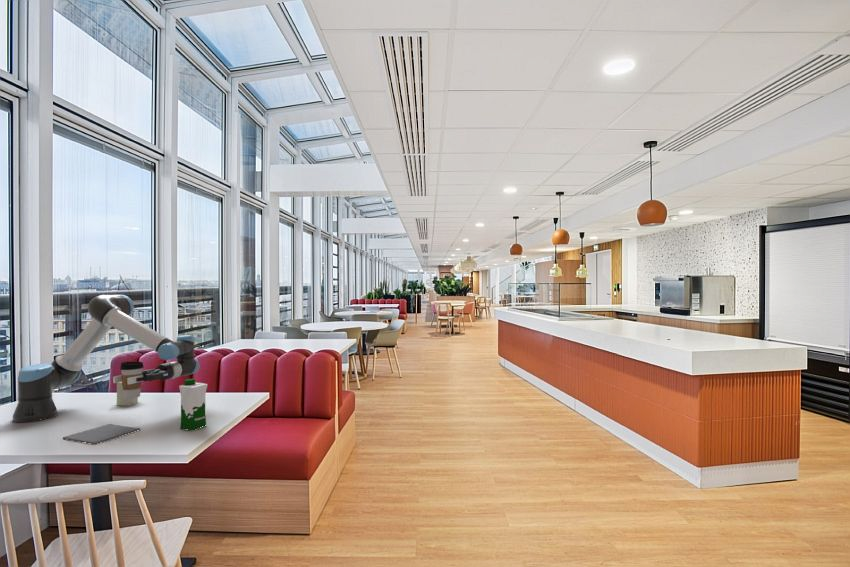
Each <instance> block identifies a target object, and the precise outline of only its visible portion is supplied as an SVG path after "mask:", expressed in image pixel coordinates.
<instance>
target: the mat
mask: <svg viewBox="0 0 850 567" xmlns="http://www.w3.org/2000/svg"><path fill="white" fill-rule="evenodd" d="M137 430H139V431H141V428H140V427H135V426H134V427H133V426H126V425H119V424H115V423H114V424H112V423H108V424H105V425H101V426H97V427H93V428H90V429H86V430H84V431H80V432H75V433H73V434H69V435H66V436H63V437H62V440H65V439H68V440H67V441H70V440H74V441H73V442H76V441H80V442H79V443H82V442H86V443H85V444H88V443H91V444H90V445H94V444H95V445H98V444H97V443H99V444H101V443H100V442H102V443H104V441H105V442H108V441H111V440H114V439H117V438H120V437H119V436H121V437H123V436H122V435H124V436H126V435H125V434H127V435H129V434H128V433H130V434H132V433H131V432H133V433H135V432H134V431H136V432H138V431H137ZM116 437H117V438H116ZM113 438H114V439H113ZM110 439H111V440H110ZM107 440H108V441H107Z"/></svg>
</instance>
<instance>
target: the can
mask: <svg viewBox="0 0 850 567" xmlns="http://www.w3.org/2000/svg"><path fill="white" fill-rule="evenodd" d="M138 398H139V397H137V398H131V399H125V398H124V397H123V387H122V382H118V383H116V404H118V405H117V406H119V405H124V406H129V405H128V404H132V405H135V404H138V403H139V400H138ZM137 402H138V403H137ZM134 403H135V404H134Z"/></svg>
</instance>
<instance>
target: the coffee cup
mask: <svg viewBox="0 0 850 567" xmlns="http://www.w3.org/2000/svg"><path fill="white" fill-rule="evenodd" d="M119 368H120V371H121V374H120V375H121V378H122V387H123V397H124V398H125V399H131V398H137V397H138V398H139V397H140V396H141V390H142V389H141V388H142V382H138V383H134V384H129V385H128V384H127V378H130V377H135V376H140V375H142V371H143V368H144V362H143V361H123V362H120V367H119Z"/></svg>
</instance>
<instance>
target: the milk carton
mask: <svg viewBox="0 0 850 567" xmlns="http://www.w3.org/2000/svg"><path fill="white" fill-rule="evenodd" d="M178 387H179V388H178V389H179V391H180V392H179V394H180V425H179V429H180V430H183V429H188V430H187V431H190V430H194V431H196V430H195V429H197V428H200V427H202V426H205V425H206V426H207V416H206V393H207V389H208V383H203V382H196V378H185V379H184V384H181V385H179V386H178ZM206 426H205V427H206ZM202 428H203V427H202ZM200 429H201V428H200ZM197 430H198V429H197Z"/></svg>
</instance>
